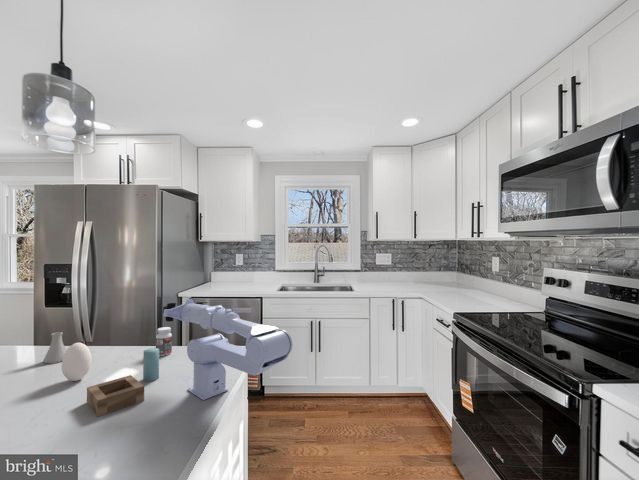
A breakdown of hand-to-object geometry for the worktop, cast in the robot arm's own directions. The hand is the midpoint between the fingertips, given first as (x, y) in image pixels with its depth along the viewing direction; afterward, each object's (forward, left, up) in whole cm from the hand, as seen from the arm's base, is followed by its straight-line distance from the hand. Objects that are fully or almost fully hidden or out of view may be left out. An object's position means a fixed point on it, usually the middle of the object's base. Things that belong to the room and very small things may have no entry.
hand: (175, 309), depth 104 cm
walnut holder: (-8, +19, -21) cm, 29 cm away
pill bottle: (+20, -5, -21) cm, 30 cm away
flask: (+42, +24, -21) cm, 53 cm away
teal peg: (0, +7, -21) cm, 22 cm away
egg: (+16, +23, -21) cm, 35 cm away
